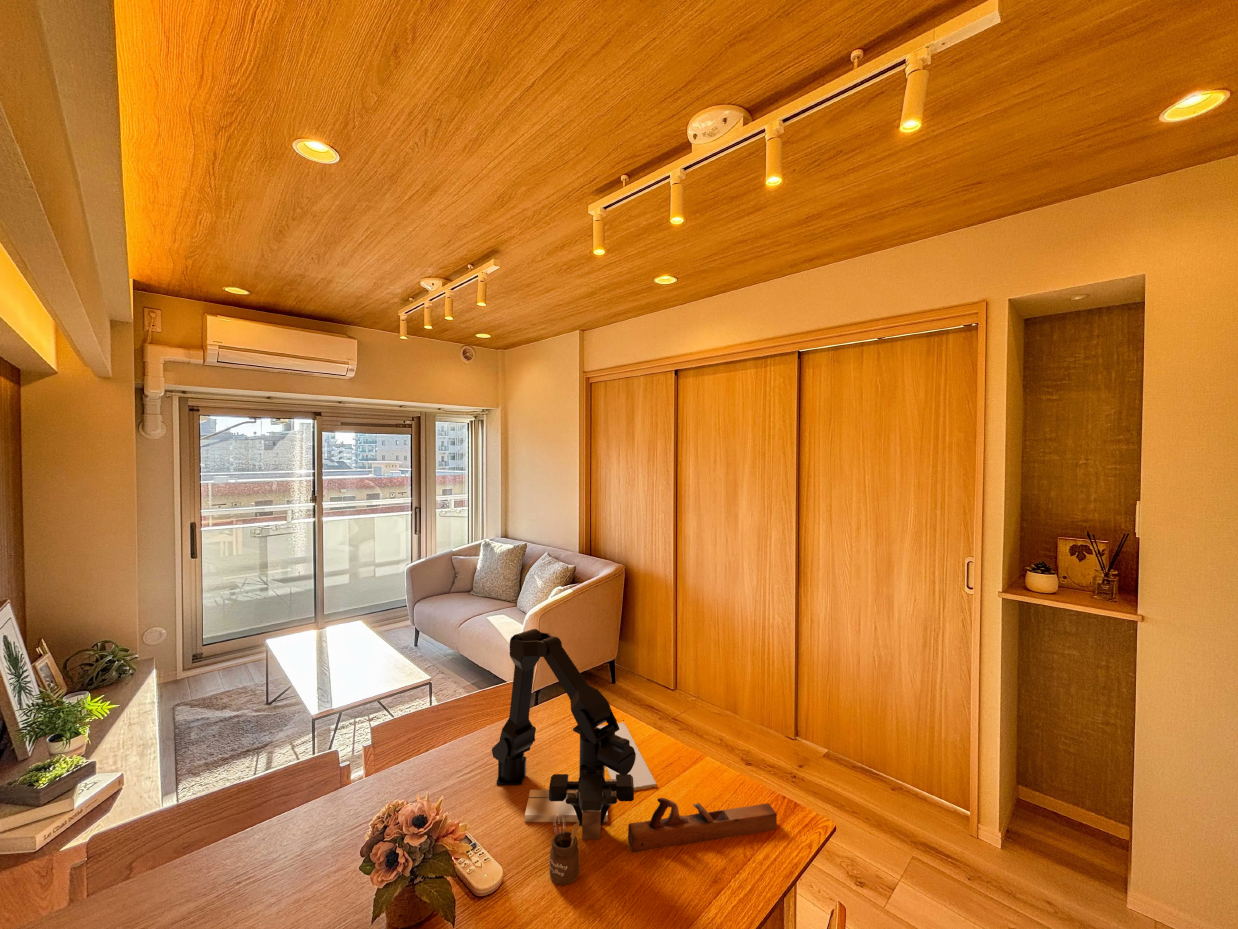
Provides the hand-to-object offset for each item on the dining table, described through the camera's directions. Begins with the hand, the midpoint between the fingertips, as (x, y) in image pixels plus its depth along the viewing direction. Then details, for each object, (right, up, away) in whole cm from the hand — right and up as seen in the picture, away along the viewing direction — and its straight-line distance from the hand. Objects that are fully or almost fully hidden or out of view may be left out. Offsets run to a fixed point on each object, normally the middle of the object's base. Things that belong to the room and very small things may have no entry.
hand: (591, 824), depth 117 cm
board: (-6, -1, +7) cm, 10 cm away
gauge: (0, -1, +4) cm, 4 cm away
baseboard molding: (+6, -2, +30) cm, 30 cm away
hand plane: (+25, -3, 0) cm, 25 cm away
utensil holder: (-5, -2, -12) cm, 13 cm away
